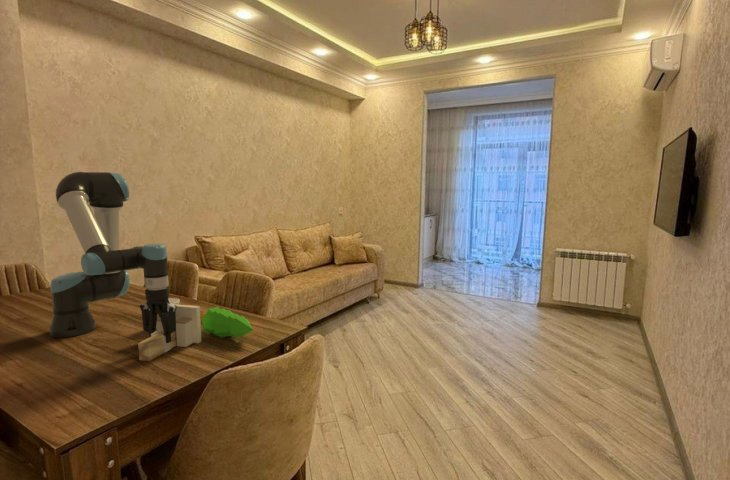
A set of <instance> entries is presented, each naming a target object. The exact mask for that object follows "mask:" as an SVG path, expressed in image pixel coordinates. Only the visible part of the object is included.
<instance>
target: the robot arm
mask: <svg viewBox="0 0 730 480" xmlns="http://www.w3.org/2000/svg"><path fill="white" fill-rule="evenodd" d="M129 189H130V188H129V185H128V182H127V181H126V178H125V177H124V176H123V175H122V174H120V173H117V172H115V173H114V172H109V171H108V172H106V171H104V172H103V171H102V172H100V171H98V172H94V171H92V172H90V171H88V172H87V171H77V172H71V173H70V174H67V175H65V176H64V177H63V178H62V179H61V180H60V181H59V182H58V184H57V186H56V189H55V198H56V202H57V204H58V206H59V208H61V209H62V210H64V211H65V213H66V215H67V217H68V220H69V223H70V225H72V229H73V231H74V234H75V235H76V237H77V239H78V242H79V244H80V245H81V248H82V250H83V252H84V254H82V255H81V258H80V264H81V269H82V271H76V272H69V273H65V274H61V275H58V276H56V277H54V278H53V279H52V280H51V282H50V293H51V301H52V302H51V304H52V311H53V313H52V314H53V316H52V319H51V324H50V327H49V336H51V337H52V338H53V337H54V338H69V337H75V336H80V335H83V334H86V333H89V332H92V331H93V330H95V329H96V321H95V319H94V317H93V315H92V313H91V310H90V307H89V303H94V302H99V301H104V300H110V299H115V298H118V297H123V296H125V294H127V293H128V291H129V288H130V274H129V271H130V270H137V269H143V277H144V279H143V280H144V288H145V290H144V293H145V295H144V296H145V300H146V302H144V303H143V304H140V305H139V308H140V311H141V318H142V328H143V331H144V332H147V333H148V335H149V336H148V338H150V337H152V336H154V335H156V334H157V333H158V331H156V330H157V329H156V323H157V315H159V317H160V319H161V323H162V327H163V331H164V334H163V335H162V338H163V352H164V353H163V354H165V353H167V352H168V351H170V350H171V349H170V342H171V333H173V332H175V331H176V308H177V306H176V305H174V306H173V305H171V304H170V302H169V300H168V298H170V287H169V271H168V252H167V246H166V245H165V244H163V243H149V244H144V245H143V246H137V245H136V246H132V247H131V248H125V249H120V210H121V209H122V208H124V202H127V201H128V200H129V197H130V190H129ZM92 209H93V210H92ZM93 211H94V212H93ZM167 308H168V310H167ZM155 331H156V332H155Z"/></svg>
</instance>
